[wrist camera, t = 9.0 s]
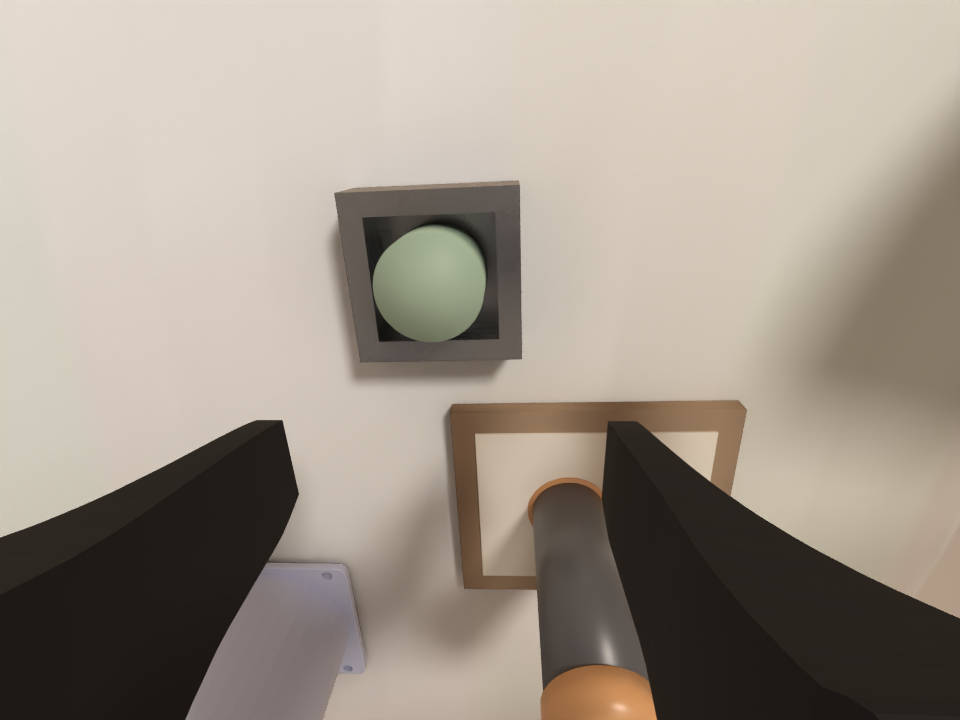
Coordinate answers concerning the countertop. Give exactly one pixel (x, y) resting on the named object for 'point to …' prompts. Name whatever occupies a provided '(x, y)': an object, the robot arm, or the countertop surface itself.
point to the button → (431, 282)
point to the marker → (584, 614)
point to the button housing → (469, 206)
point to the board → (561, 467)
